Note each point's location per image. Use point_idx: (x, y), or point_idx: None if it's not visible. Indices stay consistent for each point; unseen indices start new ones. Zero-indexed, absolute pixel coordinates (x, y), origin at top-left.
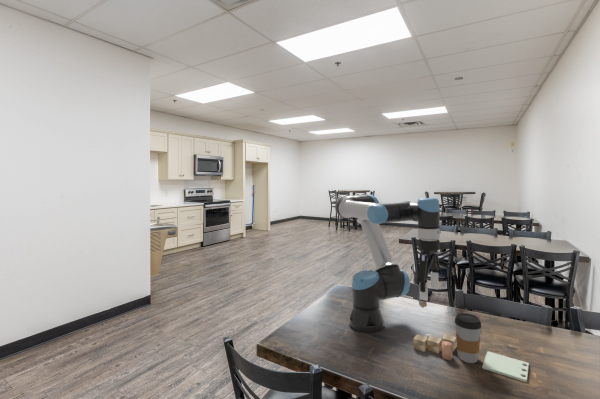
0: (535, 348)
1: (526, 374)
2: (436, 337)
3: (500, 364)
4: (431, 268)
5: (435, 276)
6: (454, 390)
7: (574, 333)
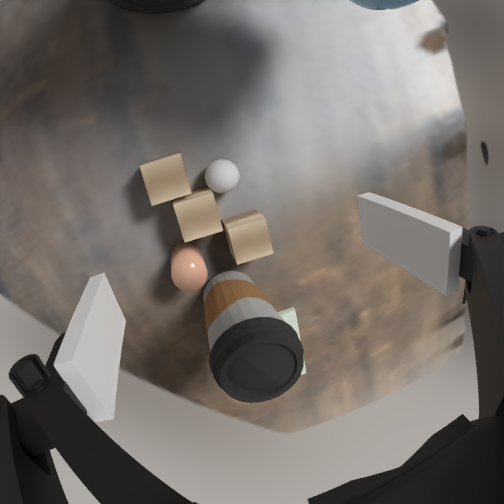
0: (379, 343)
1: None
2: (217, 213)
3: None
4: (477, 263)
5: (425, 262)
6: None
7: (457, 341)
